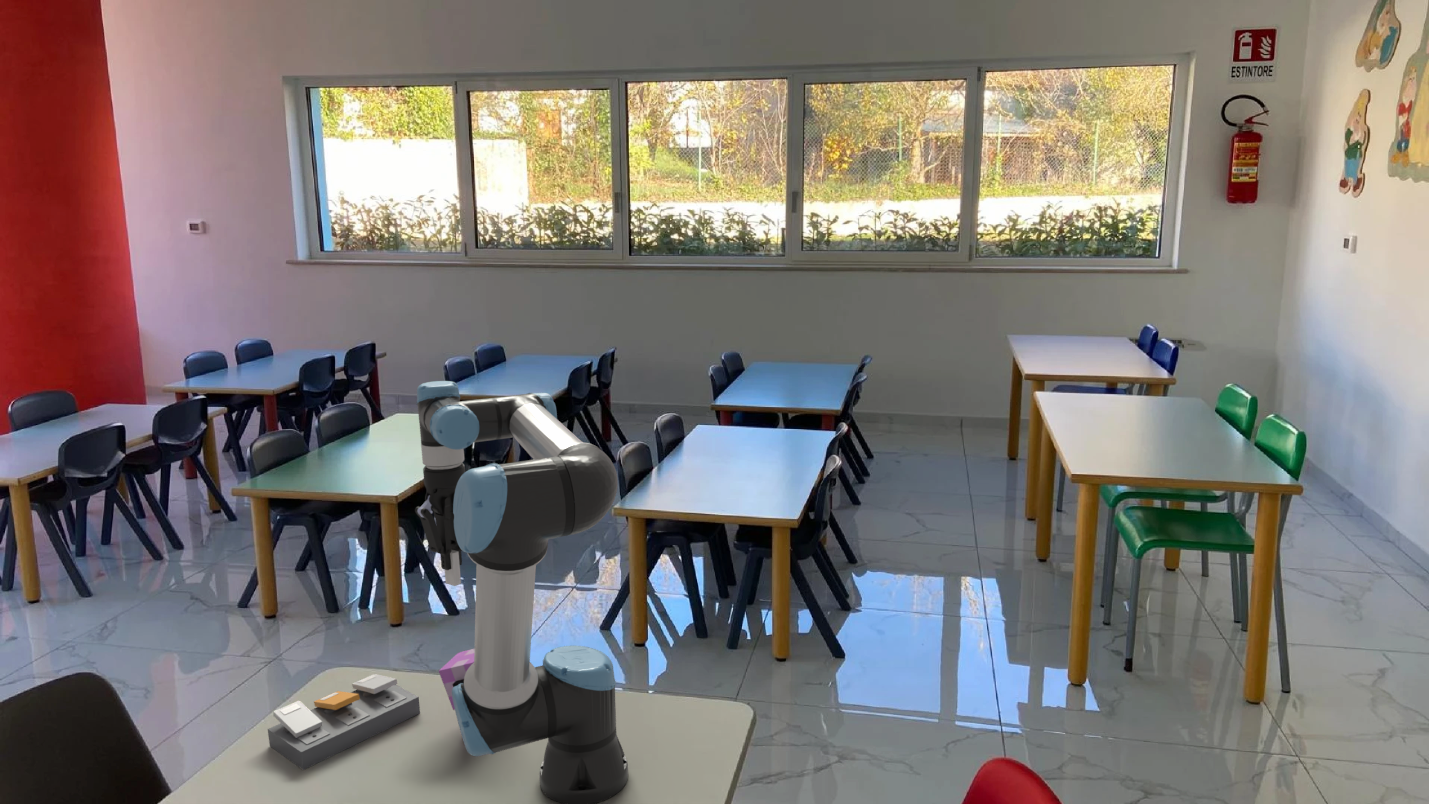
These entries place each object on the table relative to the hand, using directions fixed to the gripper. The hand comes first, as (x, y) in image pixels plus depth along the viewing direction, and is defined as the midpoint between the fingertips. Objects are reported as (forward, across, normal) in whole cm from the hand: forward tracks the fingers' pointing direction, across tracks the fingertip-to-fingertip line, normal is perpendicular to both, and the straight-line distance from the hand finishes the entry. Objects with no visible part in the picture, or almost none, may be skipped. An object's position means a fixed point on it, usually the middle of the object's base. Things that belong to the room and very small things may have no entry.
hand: (453, 583), depth 187 cm
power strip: (+26, +18, -12) cm, 34 cm away
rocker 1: (+22, +26, -15) cm, 37 cm away
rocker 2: (+22, +18, -14) cm, 32 cm away
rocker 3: (+22, +10, -14) cm, 28 cm away
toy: (+26, +2, +8) cm, 28 cm away
